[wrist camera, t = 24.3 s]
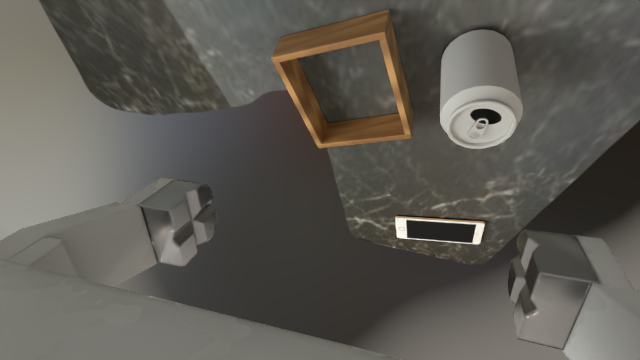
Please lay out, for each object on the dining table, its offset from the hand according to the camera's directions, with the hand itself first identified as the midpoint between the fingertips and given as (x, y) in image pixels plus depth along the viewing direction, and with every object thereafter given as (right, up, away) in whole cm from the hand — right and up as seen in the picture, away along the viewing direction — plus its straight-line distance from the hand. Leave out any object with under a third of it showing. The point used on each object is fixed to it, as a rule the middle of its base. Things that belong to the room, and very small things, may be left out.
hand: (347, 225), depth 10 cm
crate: (+3, +15, +38) cm, 41 cm away
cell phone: (+23, -8, +62) cm, 67 cm away
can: (+17, +16, +32) cm, 40 cm away
